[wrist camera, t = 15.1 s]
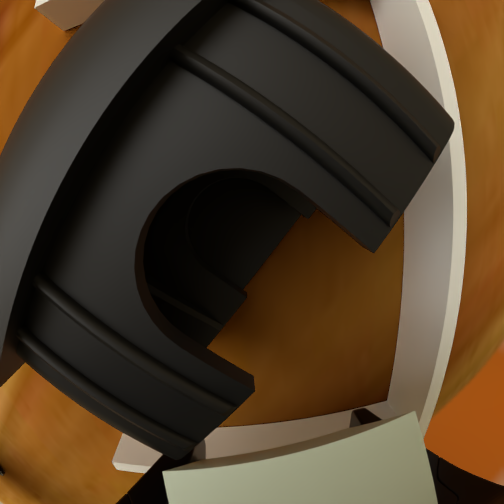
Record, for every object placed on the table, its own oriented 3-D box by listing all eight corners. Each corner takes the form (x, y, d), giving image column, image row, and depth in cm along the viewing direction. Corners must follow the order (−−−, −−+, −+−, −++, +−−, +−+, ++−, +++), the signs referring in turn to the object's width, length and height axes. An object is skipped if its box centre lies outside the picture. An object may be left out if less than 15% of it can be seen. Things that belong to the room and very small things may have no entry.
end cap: (196, 25, 8) (161, -108, 2) (355, 135, 10) (495, 90, 3) (49, 242, 10) (-80, 299, 3) (190, 349, 11) (156, 496, 5)
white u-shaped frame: (395, 406, 12) (420, 444, 9) (129, 433, 12) (114, 477, 9) (378, -10, 8) (407, -44, 5) (65, 20, 8) (30, -9, 5)
